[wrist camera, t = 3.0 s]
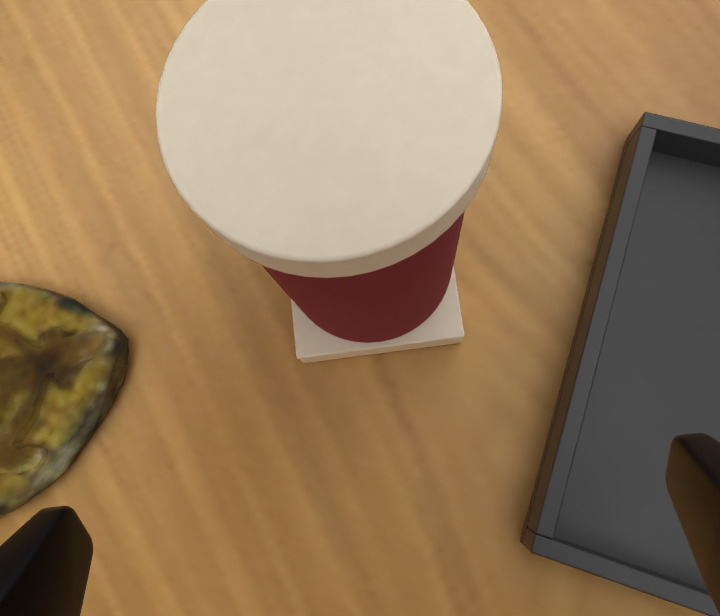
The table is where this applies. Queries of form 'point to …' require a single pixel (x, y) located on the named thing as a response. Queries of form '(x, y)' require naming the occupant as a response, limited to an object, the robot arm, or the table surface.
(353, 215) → the red cylinder and block
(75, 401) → the olive flat oval piece
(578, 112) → the table surface
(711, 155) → the tray
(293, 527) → the table surface
